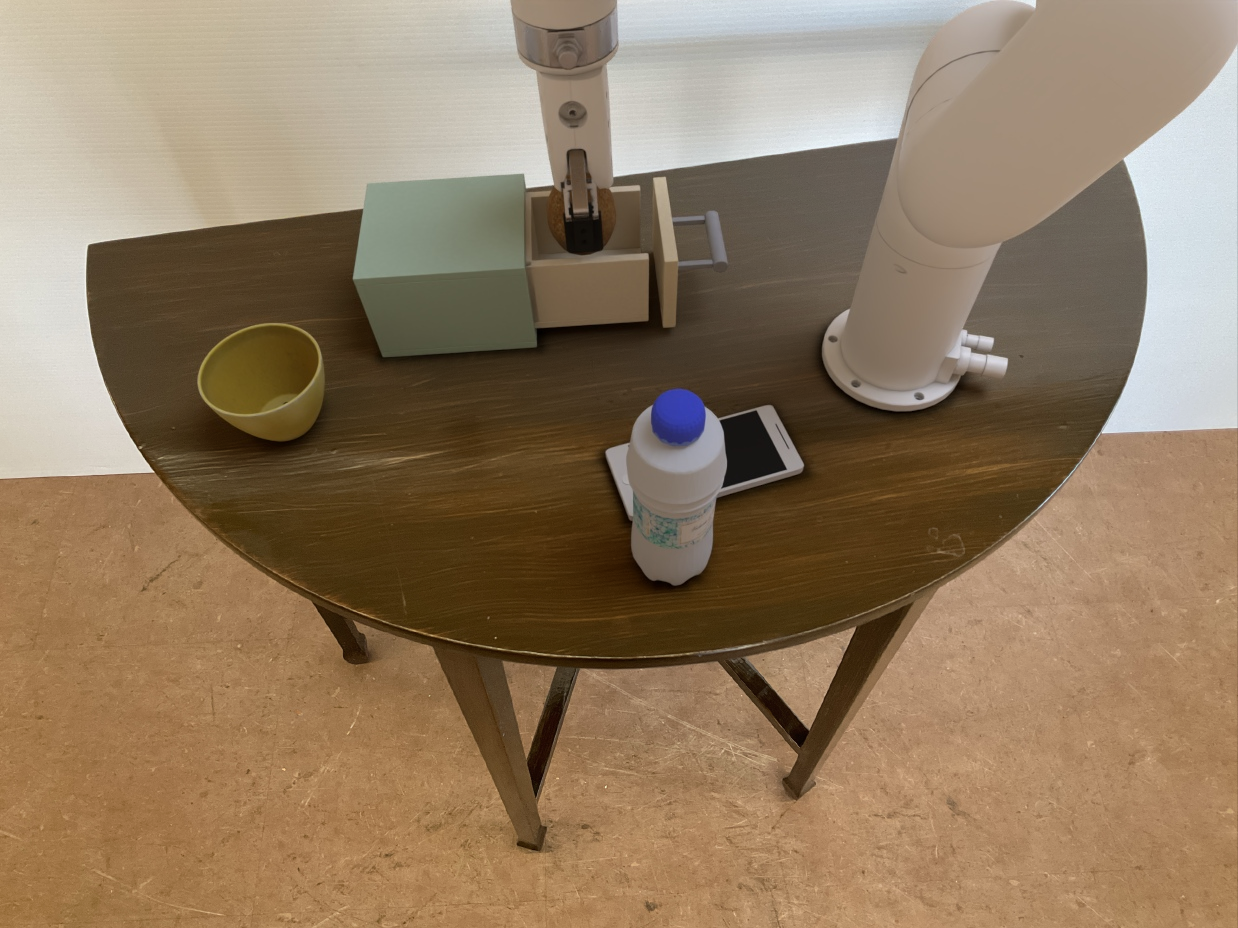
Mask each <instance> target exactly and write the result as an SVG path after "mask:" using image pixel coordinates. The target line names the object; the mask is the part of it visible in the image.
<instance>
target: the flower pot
mask: <svg viewBox="0 0 1238 928" xmlns="http://www.w3.org/2000/svg"><path fill="white" fill-rule="evenodd" d="M325 388H326V374H325V364H324V359H323V355H322V352H321V348H320V346H319V344H318V342H317V341H316V339H315V338H314V337H313V336H312V335H311V334H310V333H309V332H308V331H306V330H304V329H302V328H301V327H298V326H295V325H292V324H288V323H283V322H281V323H280V322H267V323H266V322H265V323H258V324H255V325H251V326H248V327H245V328H242V329H239V330H237V331H235V332H233V333H232V334H229V335H228V336H226V337H224V338H223V339H222V340H221V341H219V342H218V343H217V344H215V346H214V347H212V348H211V350H210V351H209V352H208V353H207V355H206V356H205V357H204V359H203V360H202V362H201V364H200V367H199V369H198V373H197V389H198V392H199V394H200V397H201V399H202V400H203V401H204V402H205V404H206V405H207V406H208V407H209V408H210V409H211V410H212V411H213V412H215V414H217V415H218V416H219V417H220V418H222V419H223V420H224V421H226V422H227V423H229V424H230V425H231V426H233V427H235V428H237V429H239V430H240V431H242V432H245V433H247V434H249V435H251V436H254V437H257V438H259V439H262V440H267V441H273V442H289V441H293V440H295V439H298V438H300V437H302V436H304V435H305V434H306V433H307V432H309V431H310V430H311V429H312V427H313V425H314V424H315V423H316V421H317V419H318V417H319V414H320V412H321V410H322V406H323V401H324V396H325V390H326V389H325Z"/></svg>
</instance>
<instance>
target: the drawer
mask: <svg viewBox="0 0 1238 928" xmlns="http://www.w3.org/2000/svg"><path fill="white" fill-rule="evenodd" d="M609 189H610V190H611V192H612V195H613V197H614V203H615V209H616V224H615V228H614V231H613V233H612V235H611V238H610V239H609V241H608V243H607V244H606V246H604V247H603V250H602V251H598V252H595V253H593V254H590V255H576V254H571V253H568V252H567V251H566V250H564V249H563V248H562V247H561V246H560V245H559V243H558V242H557V241H556V240H555V238H554V237H553V235H552V233H551V231H550V229H549V225H548V219H547V201H548V197H549V195H550V193H551V191H552V190H541V191H526V192H525V252H526V274H527V281H528V287H529V294H530V300H531V307H532V313H533V320H534V326H535V328H537V329H546V328H561V327H562V328H563V327H577V326H590V325H606V324H607V325H609V324H622V323H623V324H625V323H639V322H648V321H649V314H650V313H649V303H650V302H649V298H650V295H649V293H650V292H649V291H650V287H649V286H650V255H649V253H648V252H644V253H642V248H641V247H642V246H641V245H642V240H641V238H642V235H641V228H642V227H641V225H642V224H641V221H642V219H641V215H642V214H641V185H639V184H635V185H622V186H621V185H620V186H611V187H610V188H609ZM669 196H670V195H669V190H668V183H667V177H666V176H658V177H653V178H652V231H651V233H652V235H651V236H652V238H651V239H652V240H651V242H652V243H651V245H652V253H653V261H654V269H655V276H656V277H655V278H656V285H657V292H658V301H659V309H660V315H661V324H662V328H676V323H677V302H678V301H677V300H678V282H679V281H678V277H679V271H693V270H707V269H713V270H714V272H716V273H724V272H726V271H727V270H728V268H729V262H728V257H727V252H726V247H725V242H724V241H725V240H724V237H723V232H722V227H721V220H720V217H719V213H718V211H716V210H708V211H706V212H705V213H704V214H703V215H692V216H691V215H690V216H677V217H676V216H675V217H673V216H672V209H671V204H670V197H669ZM699 225H704V226H705V231H706V232H705V233H706V238H707V242H708V249H709V253H710V259H698V260H683V261H679V257H678V256H679V255H678V250H677V243H676V242H677V241H676V237H675V230H674V227H685V226H699Z"/></svg>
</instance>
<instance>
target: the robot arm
mask: <svg viewBox="0 0 1238 928" xmlns="http://www.w3.org/2000/svg"><path fill="white" fill-rule="evenodd" d="M509 1H510V8H511V17H512V23H513V30H514V36H515V44H516V50H517V52H516V53H517V55H518V58H519V59H520V61H521V63H523V64H524V65H525V66H526V67H528V68H530V70H534V71H535V73H536V80H537V81H536V82H537V89H538V97H539V103H540V111H541V112H540V113H541V119H542V125H543V132H544V136H545V143H546V150H547V155H548V160H549V166H550V171H551V176H552V177H551V178H552V180H553V181H552V182H553V187H555V188H556V189H557V190H558V191H560V192H562V189H563V194H564V205H565V213H563V221H564V229H565V238H566V247H567V252H568V253H584V252H598V251H602V250H603V233H602V218H601V211H598V203H597V189H596V187H598V188H599V189H603V188H607V189H609V188H610V187H613V185H614V182H615V181H614V165H613V145H612V127H611V126H612V125H611V124H612V123H611V122H612V121H611V104H610V87H609V77H608V66H607V64H608V63H609V62H610V61H612V59H613V58H614V57H615V56H616V54H617V52H618V51H619V46H620V45H619V44H620V43H619V17H618V0H509ZM1237 46H1238V0H1035V7H1034V6H1032V5H1031V4H1028V3H1026V2H1022V1H1017V0H990V1H985V2H981V3H979V4H978V3H977V4H976V5H973V6H971V7H969V8H967V9H965V10H963V11H961V12H960V13H958V14H957V15H955V16H953V17H952V18H951V19H950V20H949V21H947V22H946V23H945V24H944V25H943V26H942V27H941V28H940V29H939V30H938V31H937V32H936V34H935V35H934V36H933V37H932V39H930V41H929V43H928V44H927V46H925V49H924V50H923V52H922V55H921V56H920V58H919V60H918V62H917V65H916V68H915V70H914V73H913V76H912V79H911V84H910V86H909V90H908V95H907V99H906V104H905V108H904V113H903V117H902V119H901V120H902V122H901V124H900V128H899V131H898V132H899V133H898V136H897V140H896V144H895V149H894V152H893V156H892V160H891V164H890V167H889V171H888V173H887V174H888V175H887V178H886V182H885V184H884V185H885V186H884V189H883V193H882V195H881V200H880V203H879V207H878V210H877V213H876V216H875V219H874V223H873V226H872V230H871V233H870V237H869V239H868V244H867V247H866V250H865V251H866V252H865V255H864V258H863V261H862V265H861V269H860V272H859V276H858V278H857V282H856V287H855V290H854V294H853V297H852V300H851V304H850V307H849V308H848V309H845V310H844V311H842V312H841V313H840V314H838V315H837V316H836V317H835V318H834V319H833V320H832V321H831V322H830V324H829V325H828V327H827V329H826V331H825V333H824V337H823V340H822V346H821V358H822V361H823V362H822V363H823V366H824V368H825V370H826V372H827V374H828V376H829V377H830V378H831V380H832V381H833V382H834V384H835V385H836V386H837V387H838V388H839V389H840V390H842V391H843V392H844V393H845V394H846V395H848V396H850V397H851V398H853V399H854V400H856V401H858V402H860V403H863V404H865V405H867V406H870V407H873V408H877V409H880V410H885V411H890V412H891V411H892V412H912V411H918V410H924V409H927V408H929V407H932V406H935V405H938V404H939V403H940V402H942V401H943V400H946V398H947V397H948V396H950V395H951V393H952V392H954V390H955V388H956V387H957V385H958V383H959V381H960V379H961V376H964V375H965V374H966V373H967V372H968V373H973V374H977V375H980V376H981V377H986V378H991V379H996V380H1002V379H1004V377H1005V375H1006V372H1007V369H1008V364H1009V358H1008V357H1004V356H999V355H993V354H988V353H991V351H992V349H993V346H994V343H995V338H994V337H991V336H985V335H981V334H980V335H979V334H978V335H976V334H971V333H968V329H963V328H964V327H965V324H966V322H967V320H968V319H969V318H968V317H969V315H970V313H971V312H972V309H973V307H974V305H975V302H976V300H977V298H978V296H979V294H980V291H981V289H982V286H983V284H984V283H985V280H986V278H987V275H988V273H989V271H990V270H991V268H992V265H993V262H994V260H995V258H996V255H997V253H998V251H999V249H1000V248H1001V246H1002V244H1003V242H1006V241H1009V240H1011V239H1013V238H1016V237H1018V236H1020V235H1021V234H1024V233H1026V232H1027V231H1029V230H1031V229H1032V228H1034V227H1036V226H1037V225H1038V224H1040V223H1041V222H1043V221H1044V220H1046V219H1047V218H1049V217H1051V216H1052V215H1053V214H1054V213H1055V212H1057V211H1058V210H1059V209H1061V208H1062V207H1064V206H1065V205H1066V204H1067V203H1069V202H1070V201H1071V200H1073V199H1074V198H1075V197H1076V196H1078V195H1079V194H1080V193H1081V192H1083V191H1085V189H1087V188H1088V187H1089V186H1091V185H1092V184H1093V183H1095V182H1096V181H1097V180H1098V179H1099V178H1101V177H1103V176H1104V175H1105V174H1106V173H1107V172H1109V171H1110V170H1111V169H1112V168H1114V167H1115V166H1116V165H1118V164H1119V163H1120V162H1122V161H1123V160H1124V159H1125V158H1127V157H1128V156H1129V155H1130V154H1132V153H1133V152H1134V151H1136V149H1138V148H1139V147H1140V146H1142V145H1143V144H1144V143H1145V142H1147V141H1148V140H1149V139H1150V138H1152V137H1154V136H1155V135H1156V134H1157V133H1158V132H1159V131H1161V130H1162V129H1163V128H1165V127H1166V126H1167V125H1168V124H1170V123H1171V122H1172V121H1173V120H1174V119H1175V118H1177V117H1178V116H1179V115H1180V114H1181V113H1183V112H1184V111H1185V110H1186V109H1187V108H1188V107H1189V106H1191V104H1193V103H1194V102H1196V100H1197V99H1198V98H1199V96H1201V94H1202V93H1203V92H1204V91H1206V89H1207V88H1208V87H1209V86H1210V85H1211V83H1212V82H1213V81H1214V80H1215V78H1217V76H1218V75H1219V74H1220V72H1221V71H1222V69H1223V68H1224V67H1225V66H1226V64H1227V62H1228V61H1229V60H1230V57H1231V56H1232V54H1233V53H1234V52H1235V50H1236V48H1237ZM586 173H590V175H591V179H586ZM569 174H570V176H571V180H567V175H569ZM587 190H590V191H591V202H588V196H587ZM570 191H572V202H573V203H571V199H570ZM972 349H973V350H974V351H978V352H984V353H985V354H981V353H977V352H972Z"/></svg>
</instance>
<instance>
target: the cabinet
mask: <svg viewBox="0 0 1238 928" xmlns="http://www.w3.org/2000/svg"><path fill="white" fill-rule="evenodd" d="M525 177H526V176H525V173H511V174H497V175H495V174H494V175H478V176H465V177H464V176H463V177H447V178H433V179H431V178H430V179H416V180H415V179H414V180H399V181H386V182H385V181H383V182H368V183H366V187H365V188H366V189H365V195H364V202H363V209H362V215H361V222H360V228H359V236H358V242H357V248H356V254H355V260H354V261H355V262H354V268H353V275H352V281H353V284H354V286H355V289H356V291H357V294H358V296H359V299H360V301H361V303H362V307H363V310H364V312H365V315H366V318H367V320H368V323H369V325H370V328H371V330H372V333H373V335H374V338H375V341H376V343H377V346H378V349H379V351H380V354H381V356H382V358H395V357H411V356H425V355H439V354H441V355H442V354H456V353H470V352H487V351H500V350H501V351H503V350H515V349H518V350H519V349H531V348H537V347H538V339H537V338H538V330H537V329H538V328H535V326H534V320H533V313H532V307H531V300H530V294H529V287H528V281H527V274H526V252H525V192H527V186H526V185H527V184H526V179H525Z"/></svg>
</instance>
